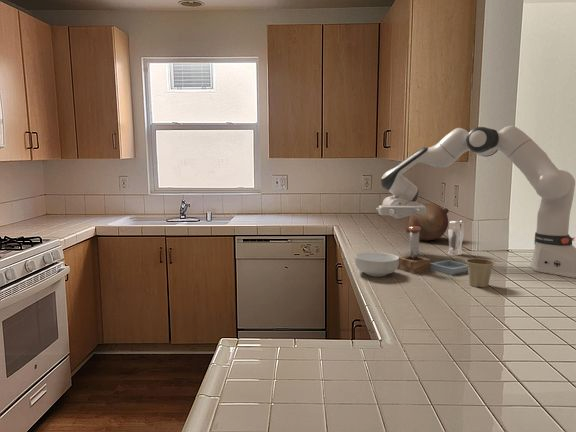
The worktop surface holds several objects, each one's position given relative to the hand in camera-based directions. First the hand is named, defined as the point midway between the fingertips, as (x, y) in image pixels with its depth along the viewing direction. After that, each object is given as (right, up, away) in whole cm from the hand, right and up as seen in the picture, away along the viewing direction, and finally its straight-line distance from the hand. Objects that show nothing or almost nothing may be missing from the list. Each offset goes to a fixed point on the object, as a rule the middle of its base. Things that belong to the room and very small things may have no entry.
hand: (406, 212), depth 198 cm
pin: (0, -23, -9) cm, 25 cm away
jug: (+24, -14, +57) cm, 64 cm away
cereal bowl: (-15, -24, -15) cm, 32 cm away
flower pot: (+18, -26, -31) cm, 44 cm away
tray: (+15, -23, -11) cm, 29 cm away
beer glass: (+27, -19, +18) cm, 38 cm away
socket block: (0, -23, -9) cm, 25 cm away
